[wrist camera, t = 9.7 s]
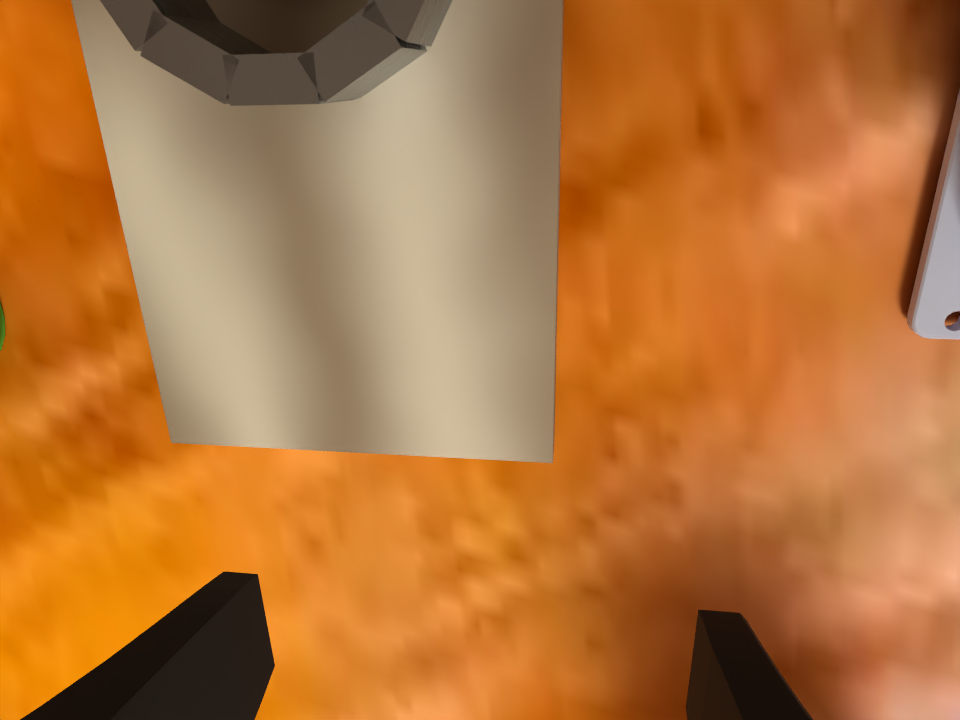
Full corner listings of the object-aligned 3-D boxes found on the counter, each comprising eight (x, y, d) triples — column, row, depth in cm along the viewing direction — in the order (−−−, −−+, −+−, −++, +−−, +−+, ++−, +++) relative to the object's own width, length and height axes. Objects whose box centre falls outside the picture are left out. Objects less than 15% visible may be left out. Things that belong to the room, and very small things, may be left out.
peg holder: (576, -620, 12) (574, -863, 9) (554, 445, 21) (548, 513, 18) (-15, -522, 14) (-192, -698, 11) (188, 427, 22) (122, 486, 19)
